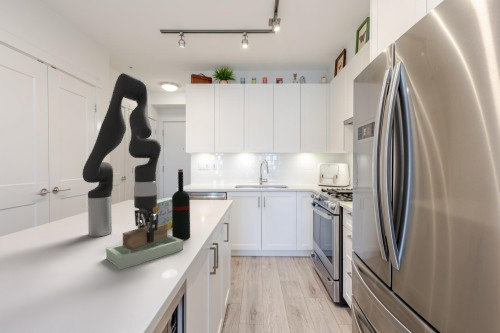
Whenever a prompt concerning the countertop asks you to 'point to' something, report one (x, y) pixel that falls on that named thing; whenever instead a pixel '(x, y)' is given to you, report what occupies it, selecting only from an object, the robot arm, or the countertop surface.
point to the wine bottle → (181, 211)
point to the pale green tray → (143, 252)
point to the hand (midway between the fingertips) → (146, 240)
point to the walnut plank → (142, 237)
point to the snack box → (164, 211)
